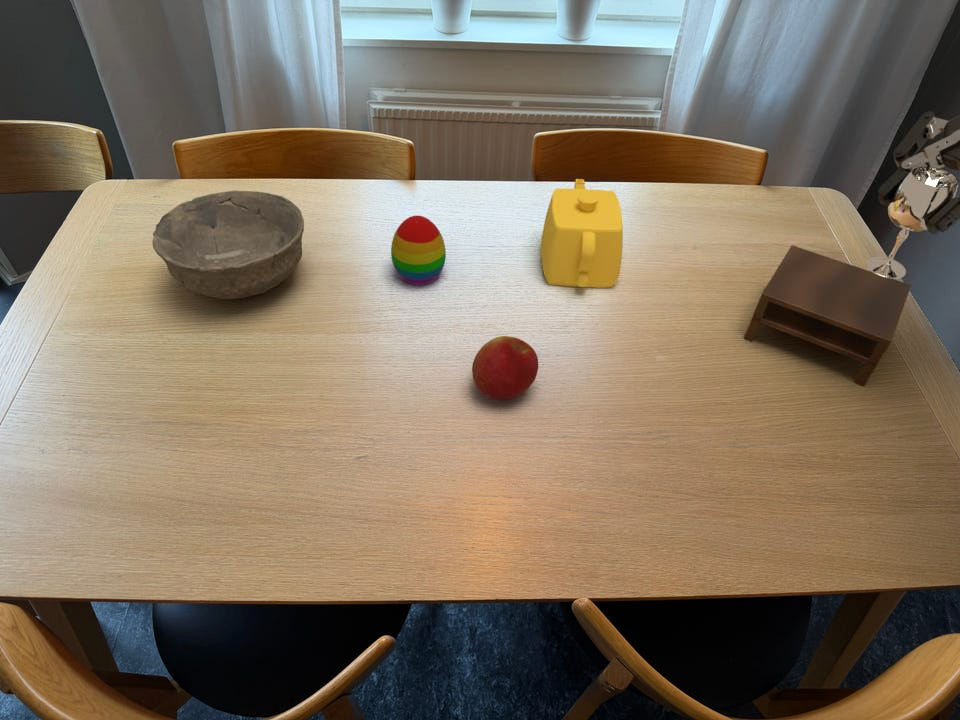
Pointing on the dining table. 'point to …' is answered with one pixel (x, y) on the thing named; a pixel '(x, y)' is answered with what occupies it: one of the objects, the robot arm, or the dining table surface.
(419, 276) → the decorative egg
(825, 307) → the shelf
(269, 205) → the bowl
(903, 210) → the wineglass
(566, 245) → the teapot
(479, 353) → the apple
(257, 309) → the dining table surface
